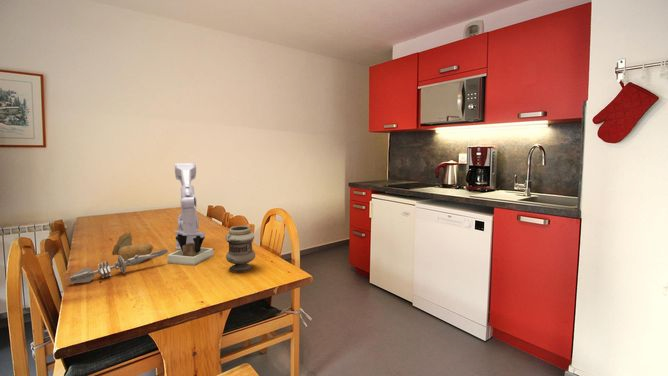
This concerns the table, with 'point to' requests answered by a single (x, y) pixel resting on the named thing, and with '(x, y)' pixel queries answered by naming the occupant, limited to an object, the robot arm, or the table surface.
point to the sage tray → (186, 260)
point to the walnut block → (189, 250)
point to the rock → (122, 242)
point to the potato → (135, 250)
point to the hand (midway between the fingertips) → (190, 251)
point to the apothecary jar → (240, 248)
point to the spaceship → (111, 267)
